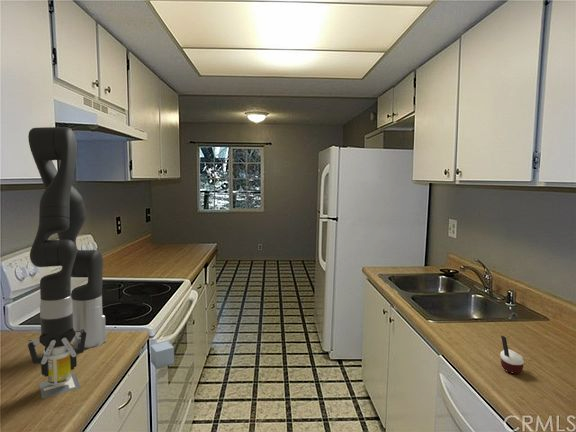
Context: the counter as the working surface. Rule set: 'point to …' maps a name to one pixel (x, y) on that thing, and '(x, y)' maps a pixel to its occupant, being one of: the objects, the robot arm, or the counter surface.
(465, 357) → the counter surface
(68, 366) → the supplement bottle
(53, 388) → the board
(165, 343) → the blue block
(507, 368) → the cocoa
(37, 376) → the counter surface
